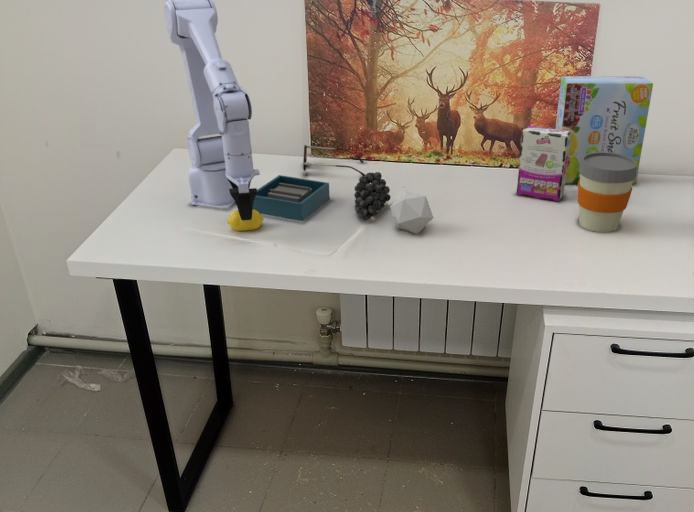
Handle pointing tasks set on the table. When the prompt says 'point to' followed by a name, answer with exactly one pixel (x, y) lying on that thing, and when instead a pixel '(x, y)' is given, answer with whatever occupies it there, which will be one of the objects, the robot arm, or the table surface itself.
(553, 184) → the candy bar box
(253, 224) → the lemon
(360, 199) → the fruit
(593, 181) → the reusable coffee cup
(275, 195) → the grey block
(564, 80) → the snack box
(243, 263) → the table surface
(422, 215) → the die
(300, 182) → the crate
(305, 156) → the sunglasses
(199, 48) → the robot arm
